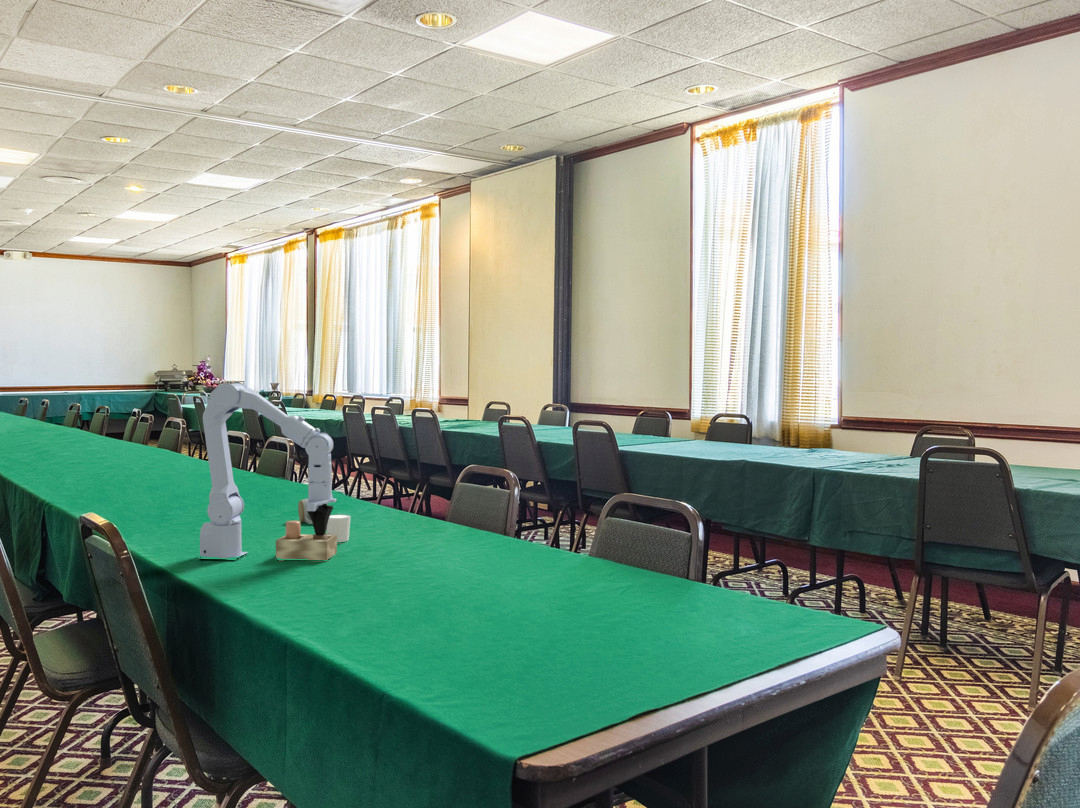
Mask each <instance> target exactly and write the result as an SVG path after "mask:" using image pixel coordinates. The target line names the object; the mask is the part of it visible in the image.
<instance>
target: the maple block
mask: <svg viewBox="0 0 1080 808" xmlns="http://www.w3.org/2000/svg"><path fill="white" fill-rule="evenodd" d="M313 535H314V534H308V533H307V534H301V538H300V539H286V534H284V535H283V536H281V537H280V538H278V539H276V540H275V559H276V558H281V559H308V560H328V559H329V558H331V557H332V556H333V555H335V554H336V553H337V552H338V548H337V547H338V546H337V545H338V543H337V535H328V539H327V540H313ZM337 554H338V553H337ZM337 554H336V555H337ZM336 555H335V556H336ZM332 558H333V557H332ZM332 558H331V559H332ZM328 561H329V560H328Z"/></svg>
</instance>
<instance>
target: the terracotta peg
mask: <svg viewBox="0 0 1080 808" xmlns="http://www.w3.org/2000/svg"><path fill="white" fill-rule="evenodd" d="M301 527H302V526H301V521H300V520H287V521H285V535H286V539H300V538H301V531H302V530H301Z"/></svg>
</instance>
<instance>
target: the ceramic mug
mask: <svg viewBox="0 0 1080 808" xmlns="http://www.w3.org/2000/svg"><path fill="white" fill-rule="evenodd" d="M307 503H308V498H304V499H301V500H299V502H298V504H297V505H298V506H297V508H298V509H297V511H298V519H299V521H300V523H307V524H308V525H310V524H313V523H312V520H311V517H310V515H309V514H308V512H307Z"/></svg>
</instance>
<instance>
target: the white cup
mask: <svg viewBox="0 0 1080 808" xmlns="http://www.w3.org/2000/svg"><path fill="white" fill-rule="evenodd" d="M351 518H352V517H351V515H349V514H330V517H329V520H328V524H327V529H326V534H328V535H337V542H345V541H348V540H349V539H350V538H349V537H350V529H351V528H350V526H351ZM349 541H350V540H349ZM349 541H348V542H349ZM345 543H346V542H345Z"/></svg>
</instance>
